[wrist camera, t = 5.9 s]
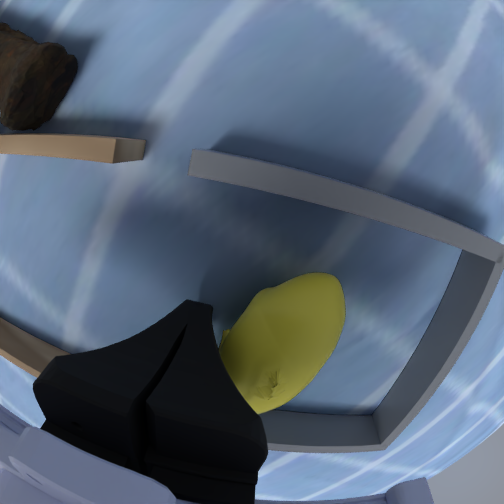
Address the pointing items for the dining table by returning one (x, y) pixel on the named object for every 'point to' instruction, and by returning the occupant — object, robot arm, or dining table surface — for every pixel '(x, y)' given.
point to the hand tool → (31, 79)
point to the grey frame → (437, 335)
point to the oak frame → (63, 146)
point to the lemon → (284, 339)
